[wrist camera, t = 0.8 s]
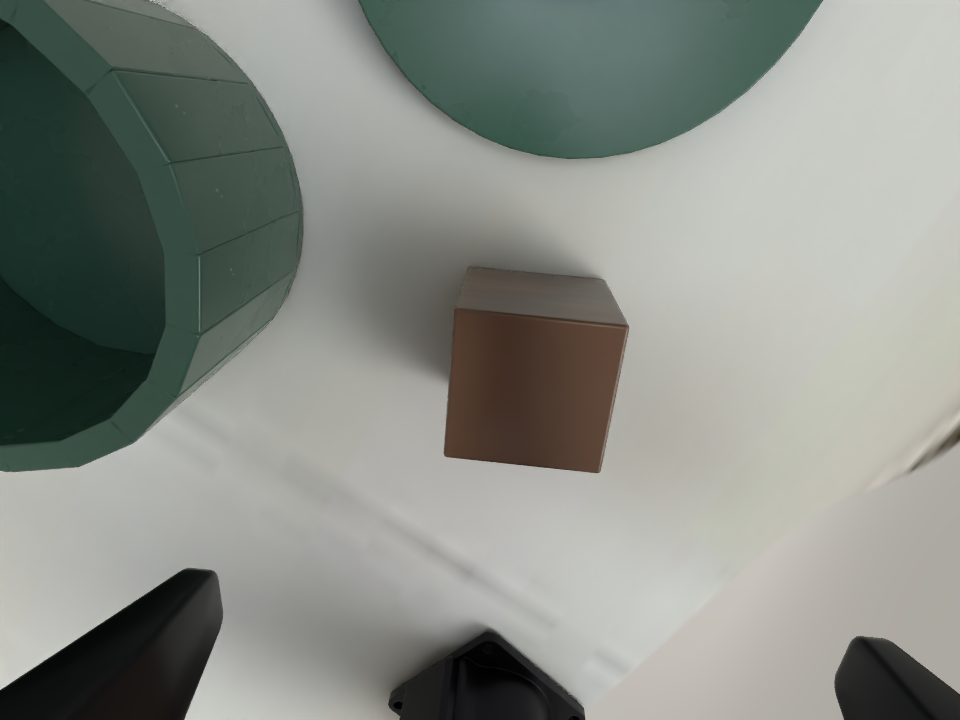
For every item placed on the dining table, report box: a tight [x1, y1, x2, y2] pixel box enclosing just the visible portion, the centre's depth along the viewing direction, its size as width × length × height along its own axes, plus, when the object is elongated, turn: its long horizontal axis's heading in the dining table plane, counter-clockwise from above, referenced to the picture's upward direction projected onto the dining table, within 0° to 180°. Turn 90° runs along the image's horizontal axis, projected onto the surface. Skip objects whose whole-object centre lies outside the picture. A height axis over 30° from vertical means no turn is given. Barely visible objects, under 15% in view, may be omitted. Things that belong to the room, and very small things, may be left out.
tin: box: [0, 0, 303, 472], centre depth 15 cm, size 12×12×6 cm
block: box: [444, 267, 629, 473], centre depth 17 cm, size 4×4×4 cm
